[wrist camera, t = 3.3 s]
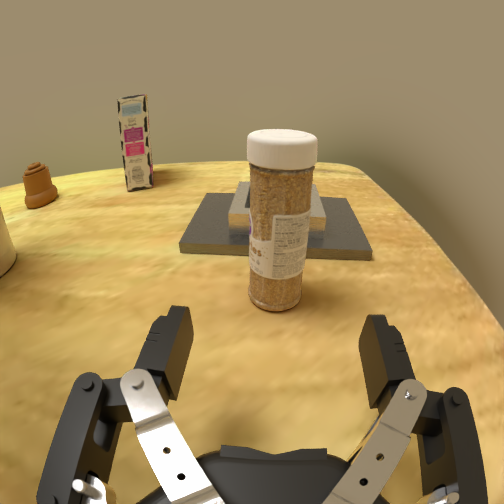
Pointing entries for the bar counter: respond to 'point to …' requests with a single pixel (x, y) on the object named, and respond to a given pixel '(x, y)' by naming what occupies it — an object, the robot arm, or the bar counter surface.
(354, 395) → the bar counter surface
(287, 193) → the sprinkles bottle
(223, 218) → the collar socket
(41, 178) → the ornamental finial
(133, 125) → the candy bar box
